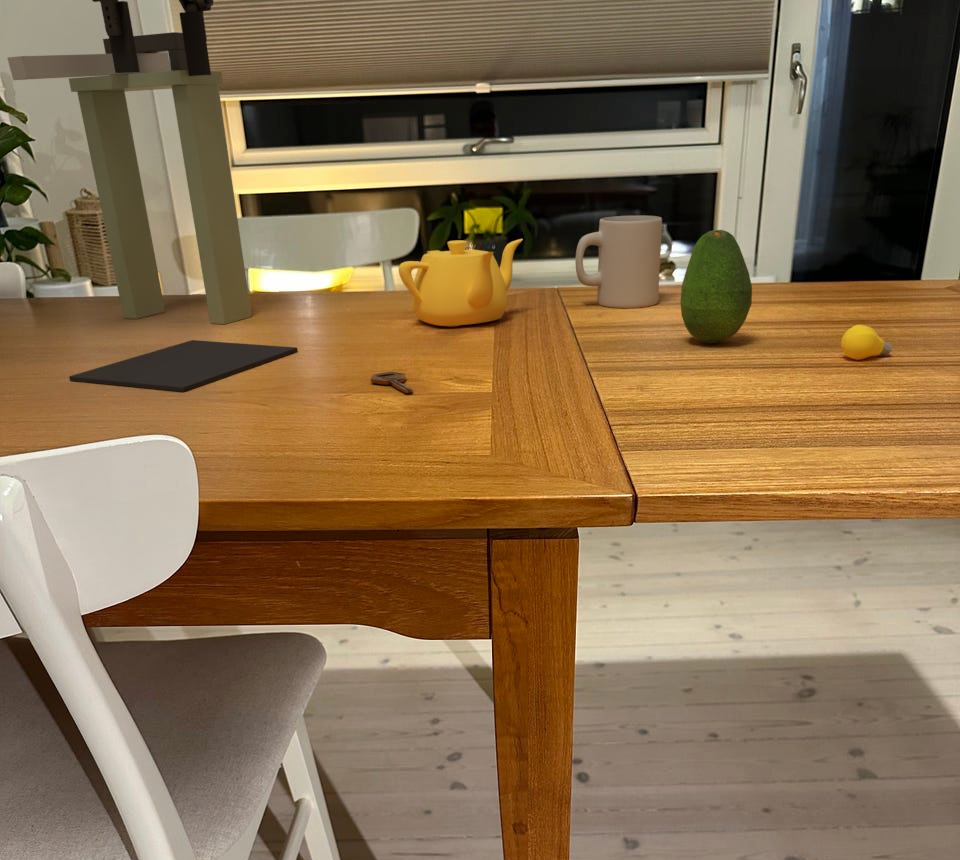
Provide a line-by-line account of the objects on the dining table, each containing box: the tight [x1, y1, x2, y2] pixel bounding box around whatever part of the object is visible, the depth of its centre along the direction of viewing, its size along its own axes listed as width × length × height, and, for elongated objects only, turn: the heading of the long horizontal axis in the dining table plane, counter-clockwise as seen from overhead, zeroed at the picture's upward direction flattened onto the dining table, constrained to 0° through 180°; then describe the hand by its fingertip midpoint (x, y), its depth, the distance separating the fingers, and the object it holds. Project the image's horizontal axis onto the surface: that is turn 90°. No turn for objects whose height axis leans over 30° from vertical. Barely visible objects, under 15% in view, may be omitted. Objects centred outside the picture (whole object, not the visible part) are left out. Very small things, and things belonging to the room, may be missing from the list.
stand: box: [68, 31, 252, 325], centre depth 129 cm, size 18×8×34 cm, turn 64°
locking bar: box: [6, 52, 171, 81], centre depth 116 cm, size 2×24×2 cm, turn 154°
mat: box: [68, 339, 299, 393], centre depth 108 cm, size 16×20×1 cm
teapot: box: [398, 238, 524, 328], centre depth 125 cm, size 14×13×10 cm
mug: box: [574, 215, 663, 309], centre depth 132 cm, size 12×8×11 cm
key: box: [370, 371, 414, 394], centre depth 96 cm, size 4×8×1 cm, turn 26°
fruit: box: [679, 229, 753, 344], centre depth 107 cm, size 8×8×12 cm
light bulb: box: [840, 324, 893, 361], centre depth 100 cm, size 3×6×4 cm, turn 108°
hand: (165, 74), depth 111 cm, fingers open, 13 cm apart
